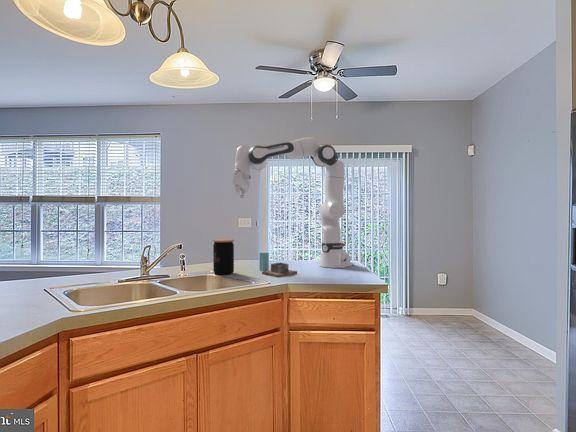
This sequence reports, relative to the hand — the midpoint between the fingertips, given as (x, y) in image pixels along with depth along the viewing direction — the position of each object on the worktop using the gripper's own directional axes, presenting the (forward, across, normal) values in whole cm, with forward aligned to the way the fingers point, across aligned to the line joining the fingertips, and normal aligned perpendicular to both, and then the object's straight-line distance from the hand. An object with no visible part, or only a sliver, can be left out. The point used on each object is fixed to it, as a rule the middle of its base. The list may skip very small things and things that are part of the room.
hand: (239, 196), depth 190 cm
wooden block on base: (+42, -2, -26) cm, 50 cm away
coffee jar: (+44, -5, +3) cm, 44 cm away
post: (+41, +6, -16) cm, 44 cm away
